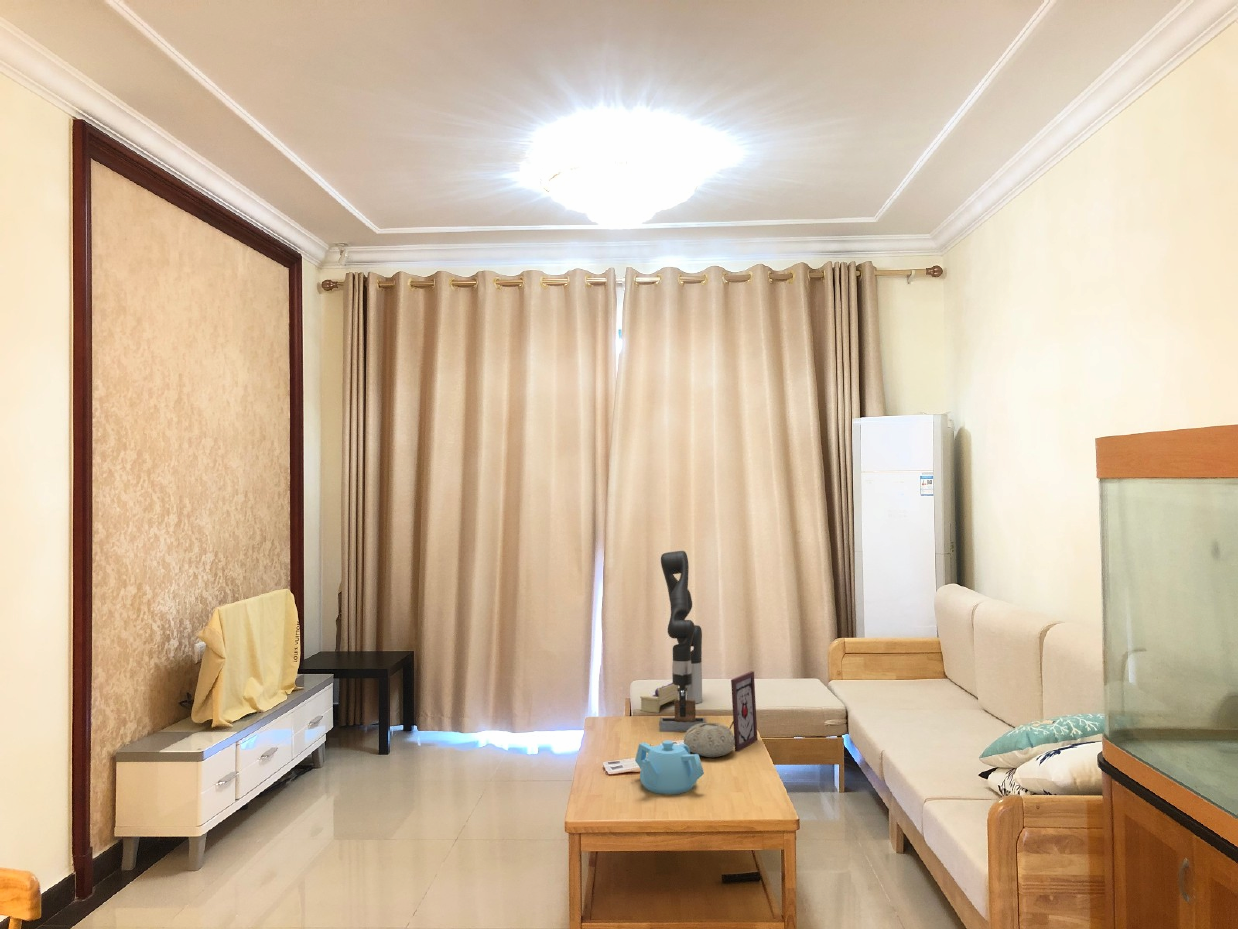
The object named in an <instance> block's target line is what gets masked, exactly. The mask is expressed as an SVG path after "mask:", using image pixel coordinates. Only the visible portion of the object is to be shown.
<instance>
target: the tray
mask: <svg viewBox="0 0 1238 929" xmlns="http://www.w3.org/2000/svg"><path fill="white" fill-rule="evenodd" d="M658 723H659V727H658V728H659V729H658V730H659V732H674V733H675V732H678V733H679V732H685V733H686V732H687V730H689V729H690V728H691V727H692V726H694V725H696V724H699V723H707V718H706V717H696V722H691V721H675V717H661V716H660V717H659V722H658Z"/></svg>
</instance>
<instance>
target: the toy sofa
mask: <svg viewBox="0 0 1238 929" xmlns="http://www.w3.org/2000/svg"><path fill="white" fill-rule="evenodd" d="M677 688H679V686H678V685H674V684H673V681H672V682H671V683H669V684H667V685H661V687H657V688H656V689H655V690H654V694H653V695H646V694H640V696H639V697H640V708H641V711H642V712H648V713H657V714H660V709H661V706H662V705H665V704H667V703H671V702H675V699H678V694H677Z"/></svg>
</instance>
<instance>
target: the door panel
mask: <svg viewBox="0 0 1238 929" xmlns="http://www.w3.org/2000/svg"><path fill="white" fill-rule="evenodd" d="M681 703H684V704H685V702H681ZM674 718H675V721H691V722H696V718H697V717H696V703H695V699H687V702H686V716H685V717H680V707H679V701H678V699H675V703H674Z"/></svg>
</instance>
